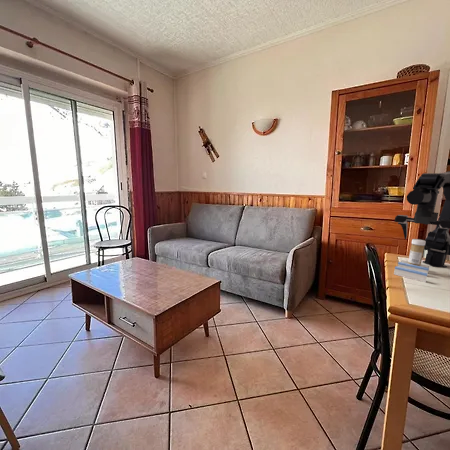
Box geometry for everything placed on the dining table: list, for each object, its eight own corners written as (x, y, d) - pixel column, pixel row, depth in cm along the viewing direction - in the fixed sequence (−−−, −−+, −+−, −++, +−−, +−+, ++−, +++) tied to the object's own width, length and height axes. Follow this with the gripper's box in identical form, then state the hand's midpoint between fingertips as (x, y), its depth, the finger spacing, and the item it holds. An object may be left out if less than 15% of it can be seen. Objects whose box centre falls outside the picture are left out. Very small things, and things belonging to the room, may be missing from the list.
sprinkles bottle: (421, 270, 102) (427, 240, 100) (417, 272, 100) (423, 241, 97) (408, 267, 106) (414, 238, 103) (404, 269, 103) (410, 239, 101)
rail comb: (400, 264, 110) (401, 257, 109) (428, 270, 103) (430, 263, 102) (393, 274, 96) (394, 267, 96) (425, 282, 90) (427, 274, 89)
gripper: (395, 203, 98) (389, 239, 101) (458, 208, 85) (448, 249, 88) (399, 202, 106) (393, 236, 109) (457, 206, 93) (448, 244, 96)
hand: (418, 241), depth 100 cm, fingers open, 9 cm apart
